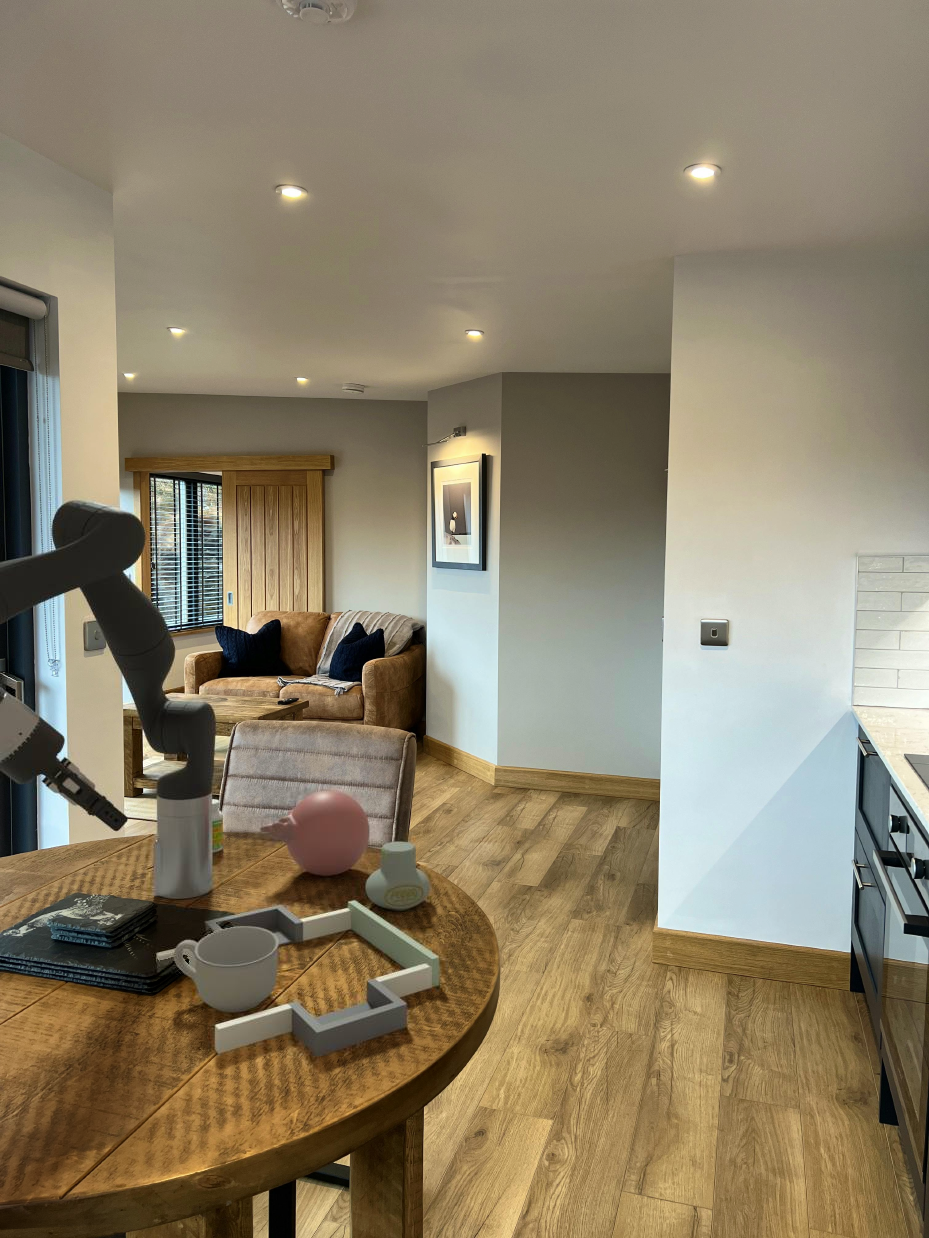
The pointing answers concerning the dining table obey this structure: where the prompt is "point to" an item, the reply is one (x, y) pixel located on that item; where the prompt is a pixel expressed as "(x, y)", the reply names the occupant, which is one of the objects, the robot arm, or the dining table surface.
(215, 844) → the supplement bottle
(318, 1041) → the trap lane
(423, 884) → the air freshener
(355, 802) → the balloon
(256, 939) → the teacup
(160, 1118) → the dining table surface
